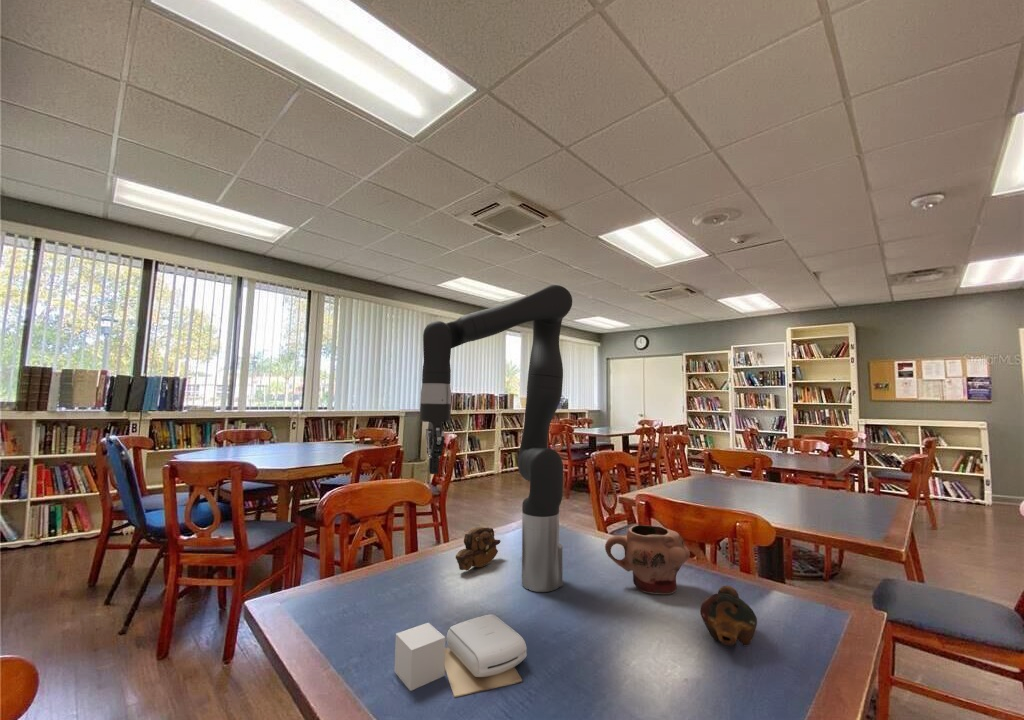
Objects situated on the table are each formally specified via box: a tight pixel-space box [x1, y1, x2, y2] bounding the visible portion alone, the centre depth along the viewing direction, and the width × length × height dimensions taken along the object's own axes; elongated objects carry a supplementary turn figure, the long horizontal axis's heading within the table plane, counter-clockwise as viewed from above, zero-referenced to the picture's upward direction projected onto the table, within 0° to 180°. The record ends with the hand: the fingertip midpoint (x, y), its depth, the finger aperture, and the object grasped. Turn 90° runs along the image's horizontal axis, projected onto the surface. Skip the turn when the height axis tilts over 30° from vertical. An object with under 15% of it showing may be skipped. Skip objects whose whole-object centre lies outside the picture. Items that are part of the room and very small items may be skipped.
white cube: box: [393, 622, 446, 692], centre depth 69 cm, size 6×6×6 cm
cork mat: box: [444, 646, 523, 698], centre depth 71 cm, size 11×13×1 cm
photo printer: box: [445, 613, 528, 677], centre depth 73 cm, size 10×4×12 cm
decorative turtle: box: [699, 585, 758, 647], centre depth 80 cm, size 10×15×8 cm, turn 156°
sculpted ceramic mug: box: [604, 524, 691, 595], centre depth 103 cm, size 20×12×14 cm, turn 89°
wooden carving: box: [455, 526, 502, 571], centre depth 115 cm, size 16×5×10 cm, turn 148°
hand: (433, 473), depth 103 cm, fingers closed
